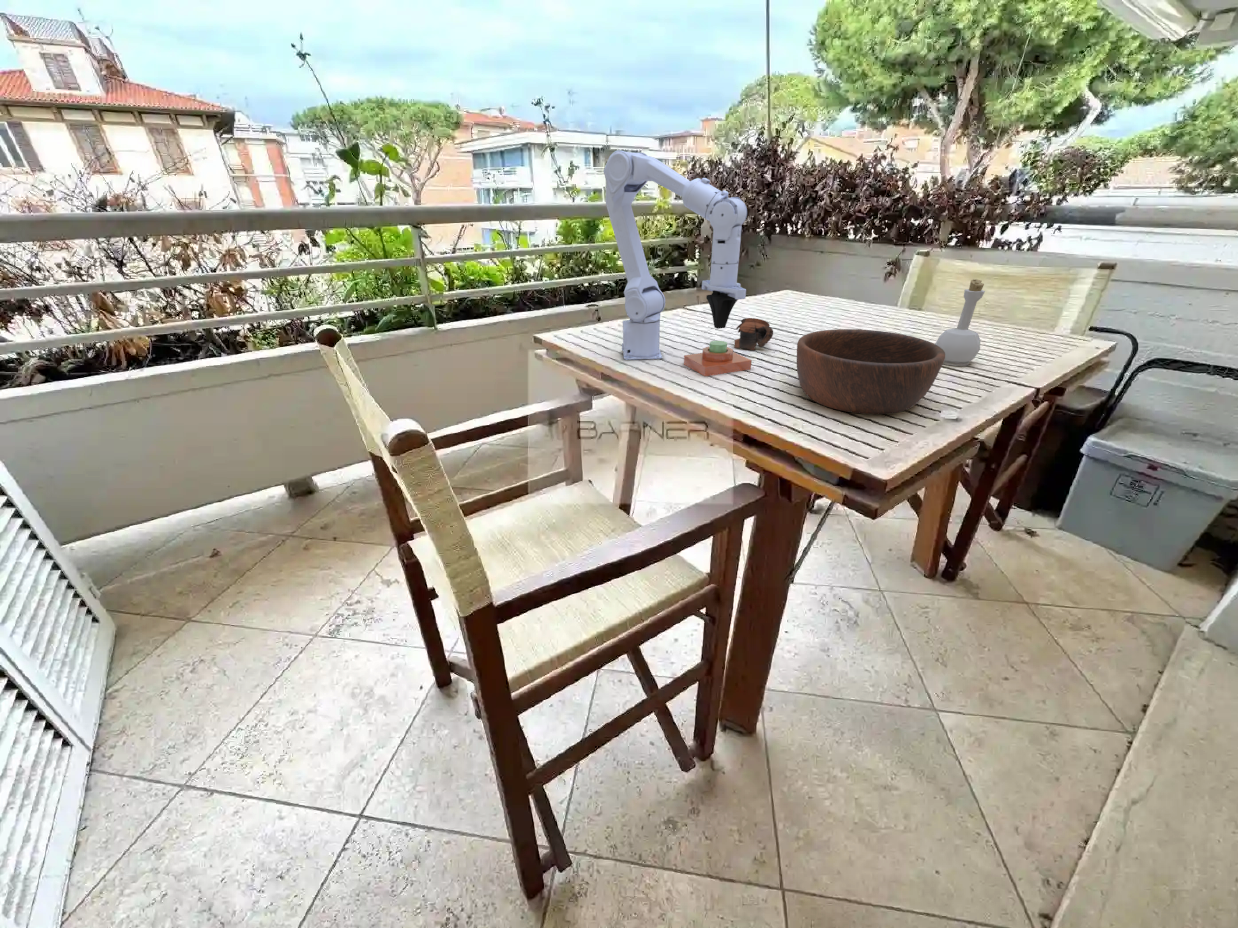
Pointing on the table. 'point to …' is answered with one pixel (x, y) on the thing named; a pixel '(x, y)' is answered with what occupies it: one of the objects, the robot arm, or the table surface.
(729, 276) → the robot arm
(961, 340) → the potion bottle
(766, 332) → the pottery mug
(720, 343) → the green button cap
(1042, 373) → the table surface
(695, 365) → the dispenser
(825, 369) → the wooden bowl
